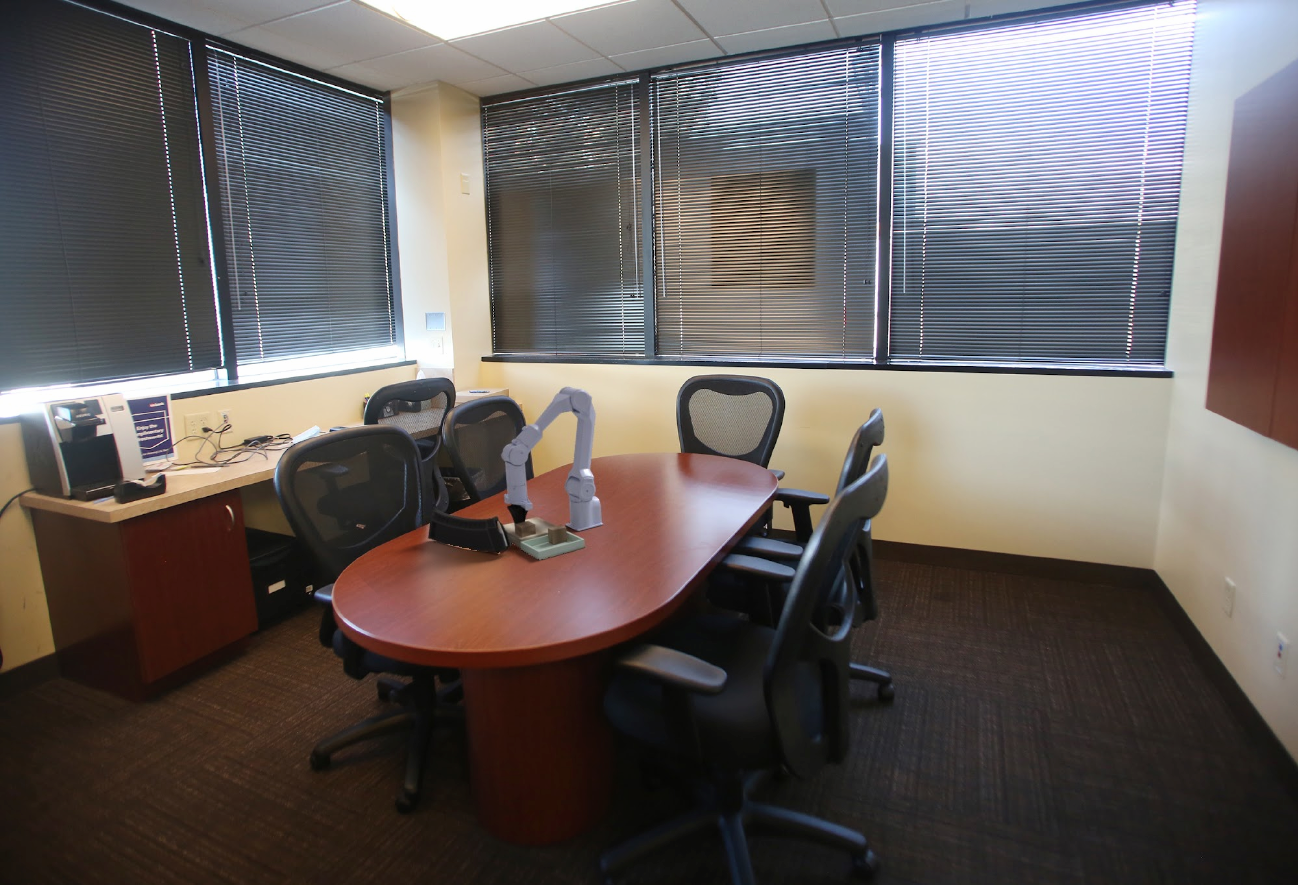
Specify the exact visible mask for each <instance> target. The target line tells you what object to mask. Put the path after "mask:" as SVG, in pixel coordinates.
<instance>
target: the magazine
mask: <svg viewBox="0 0 1298 885" xmlns="http://www.w3.org/2000/svg"><path fill="white" fill-rule="evenodd" d="M503 525H504V524H503V523H502V522H501V521H500V519H499V517H498V515H497V516H493V517H490V518H478V519H477V518H468V517H467V518H466V517H462V516H457V515H452V514H448V513H446V512H443V511H441V510H439V509H438V508H434V509H433V511H432V514H431V516H430V520H429V526H428V536H427V539H429V540H432V541H435V542H437V543H440V542H441V544H443V545H445V544H450V545H453V546H459V547H462V548H469V549H471V550H477V551H476V552H481V551H488V552H487V553H496V554H497V553H499V552H504V551H507V550H509V549H510V548H511V546H512V544H511V542H510V539H509V535H508V532H507V531H506V530H505V528H504V526H503Z"/></svg>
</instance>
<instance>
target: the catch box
mask: <svg viewBox="0 0 1298 885" xmlns="http://www.w3.org/2000/svg"><path fill="white" fill-rule="evenodd" d="M566 532H567V542H564V543H560V544H557V545H552V544H550V543H549V539H548V535H545V536H541V537H538V538H534V539H530V540H526V541H522V542H520V546H521V549H520V551H521V550H523V551H524V553H525V552H526V553H525V554H527V553H528V554H527V555H529V554H530V555H532V556H533V557H532V556H531V557H532V558H534V557H535V558H534V559H536V560H538V559H539V560H538V561H542V560H541V559H543V560H546V559H549V558H548V557H550V558H553V557H555V556H559V555H564V554H567V553H570V552H574V551H579V550H581V549H584V548H586V541H585V539H584V538H582V537H580V536H578V535H576V534H574V533H573V532H570V531H568V530H566ZM523 551H522V552H523ZM563 553H564V554H563ZM530 555H529V556H530Z"/></svg>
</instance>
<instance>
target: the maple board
mask: <svg viewBox="0 0 1298 885" xmlns="http://www.w3.org/2000/svg"><path fill="white" fill-rule="evenodd" d="M525 521H529V522H531V523H533V524H535V529H536V534H534V535H530V536H526V537H520V536H519V535H517V534H515V524H514V522H511V523H506V524H503V526H504V528H505V530H506V531H507V532H508V535H509V539H510V542H511V543H513V544H515V545H516V546H518V547H519V548H518V547H517V548H518V549H520V548H521V546H520V542H522V541H526V540H530V539H534V538H538V537H541V536H545V535H548V528H550V527H554V526H556V524H553V523H551V522H549V521H546V520H545V519H542V518H540V517H538V516H536V517H531V518H528V519H527V518H526V519H525ZM513 544H512V545H513ZM515 545H514V546H515ZM516 546H515V547H516Z"/></svg>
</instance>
